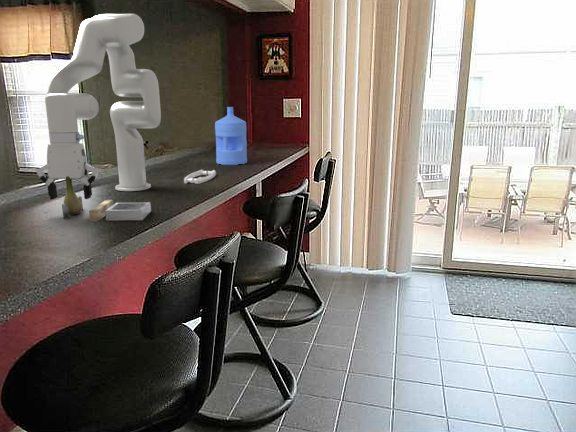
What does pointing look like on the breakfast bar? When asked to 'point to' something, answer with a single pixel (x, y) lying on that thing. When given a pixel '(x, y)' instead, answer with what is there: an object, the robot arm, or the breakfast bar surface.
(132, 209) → the frame
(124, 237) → the breakfast bar surface
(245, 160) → the water jug
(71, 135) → the robot arm
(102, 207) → the door edge rail
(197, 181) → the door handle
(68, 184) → the fennel bulb
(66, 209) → the pegs
